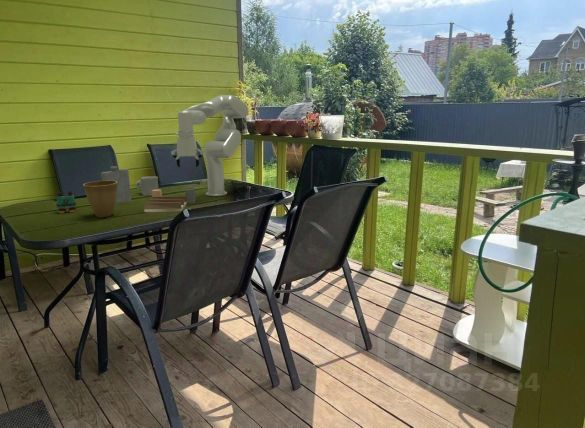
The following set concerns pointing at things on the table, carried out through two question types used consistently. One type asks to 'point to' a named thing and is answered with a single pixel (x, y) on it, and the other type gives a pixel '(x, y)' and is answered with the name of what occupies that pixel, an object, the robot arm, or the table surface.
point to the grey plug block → (190, 195)
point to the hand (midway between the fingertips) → (188, 166)
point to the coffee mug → (147, 184)
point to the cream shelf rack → (166, 204)
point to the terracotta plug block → (156, 192)
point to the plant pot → (101, 196)
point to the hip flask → (119, 183)
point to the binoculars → (66, 202)
